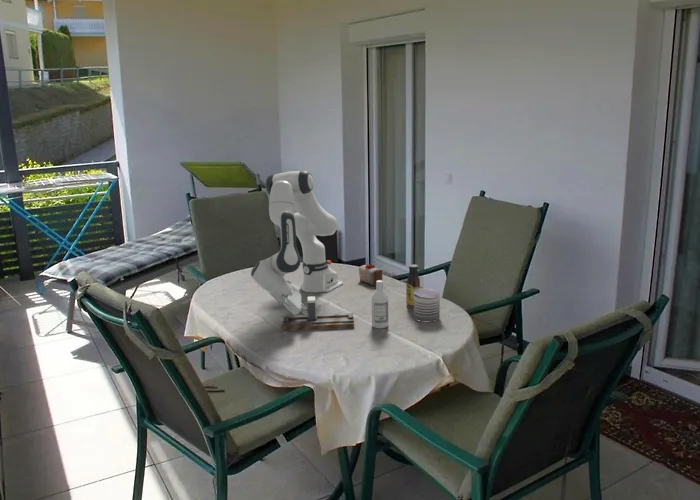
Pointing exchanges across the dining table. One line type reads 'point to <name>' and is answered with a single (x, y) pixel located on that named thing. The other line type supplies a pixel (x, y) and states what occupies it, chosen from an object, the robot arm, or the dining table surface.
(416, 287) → the sauce bottle
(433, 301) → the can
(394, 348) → the dining table surface
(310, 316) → the fader knob
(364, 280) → the food item
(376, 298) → the bath foam
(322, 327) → the fader console
